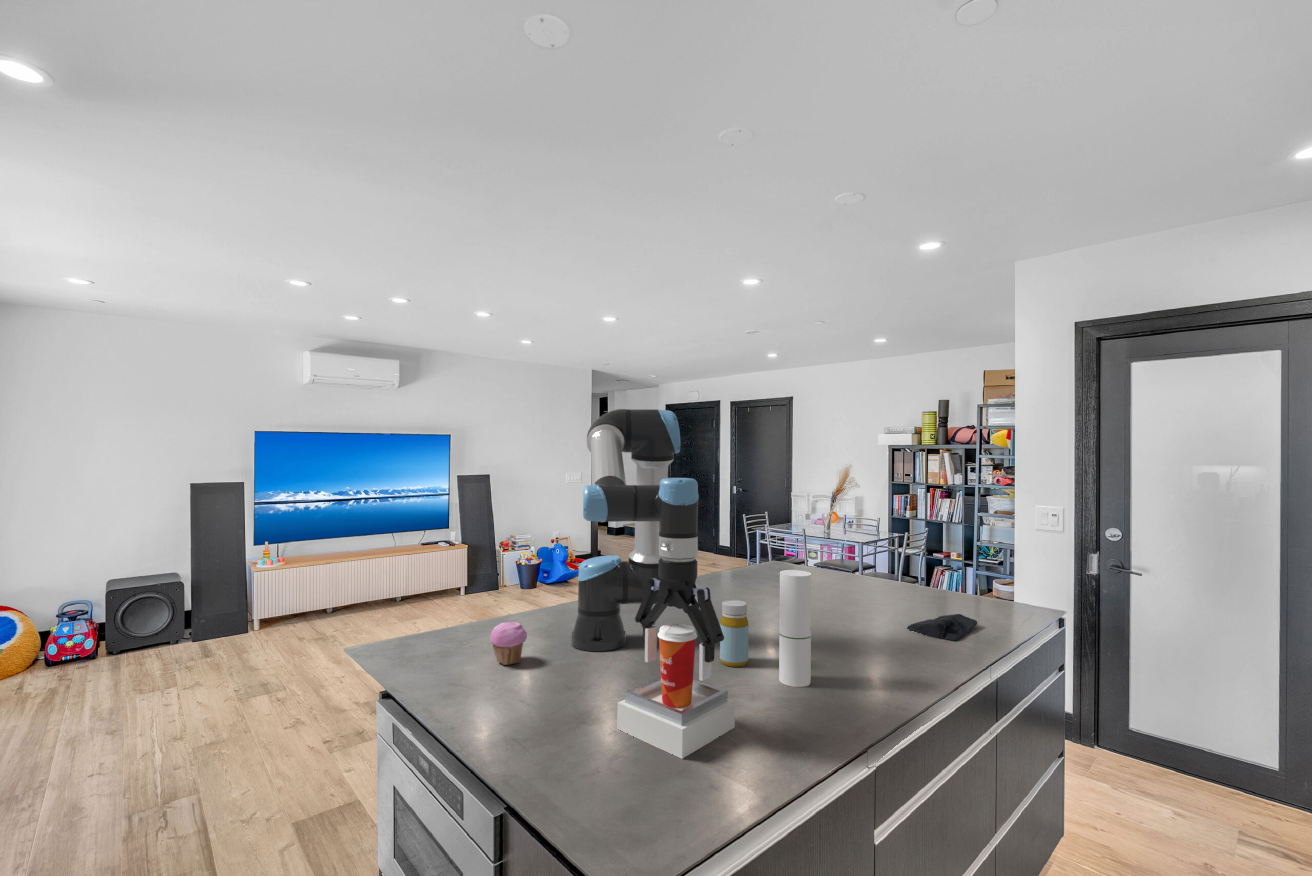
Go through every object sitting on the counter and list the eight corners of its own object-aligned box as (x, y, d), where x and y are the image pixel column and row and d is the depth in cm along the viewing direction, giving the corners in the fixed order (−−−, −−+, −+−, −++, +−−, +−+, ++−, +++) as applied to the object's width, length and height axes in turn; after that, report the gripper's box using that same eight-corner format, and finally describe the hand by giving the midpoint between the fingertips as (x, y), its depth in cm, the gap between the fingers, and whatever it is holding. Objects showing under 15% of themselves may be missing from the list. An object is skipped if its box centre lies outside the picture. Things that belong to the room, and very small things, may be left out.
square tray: (617, 728, 113) (617, 691, 113) (671, 702, 125) (671, 669, 125) (682, 758, 102) (682, 717, 102) (734, 727, 114) (735, 690, 114)
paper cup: (655, 694, 117) (655, 622, 117) (693, 693, 118) (694, 622, 118) (658, 711, 109) (659, 634, 110) (699, 710, 110) (700, 634, 110)
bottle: (747, 668, 145) (747, 607, 145) (718, 666, 146) (719, 605, 147) (748, 659, 152) (749, 600, 152) (721, 656, 153) (721, 598, 153)
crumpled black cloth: (987, 630, 181) (987, 614, 181) (954, 644, 167) (954, 627, 167) (937, 618, 192) (937, 604, 193) (902, 631, 179) (902, 615, 179)
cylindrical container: (811, 677, 140) (812, 571, 140) (809, 688, 133) (809, 577, 134) (781, 673, 142) (781, 568, 143) (777, 684, 135) (777, 574, 136)
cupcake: (532, 662, 148) (533, 622, 148) (502, 671, 141) (503, 629, 141) (512, 654, 154) (513, 615, 154) (482, 662, 147) (483, 622, 147)
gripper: (618, 552, 120) (617, 658, 119) (719, 570, 103) (718, 693, 103) (644, 548, 125) (642, 649, 125) (743, 564, 109) (742, 680, 108)
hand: (676, 669), depth 114 cm, fingers open, 13 cm apart
